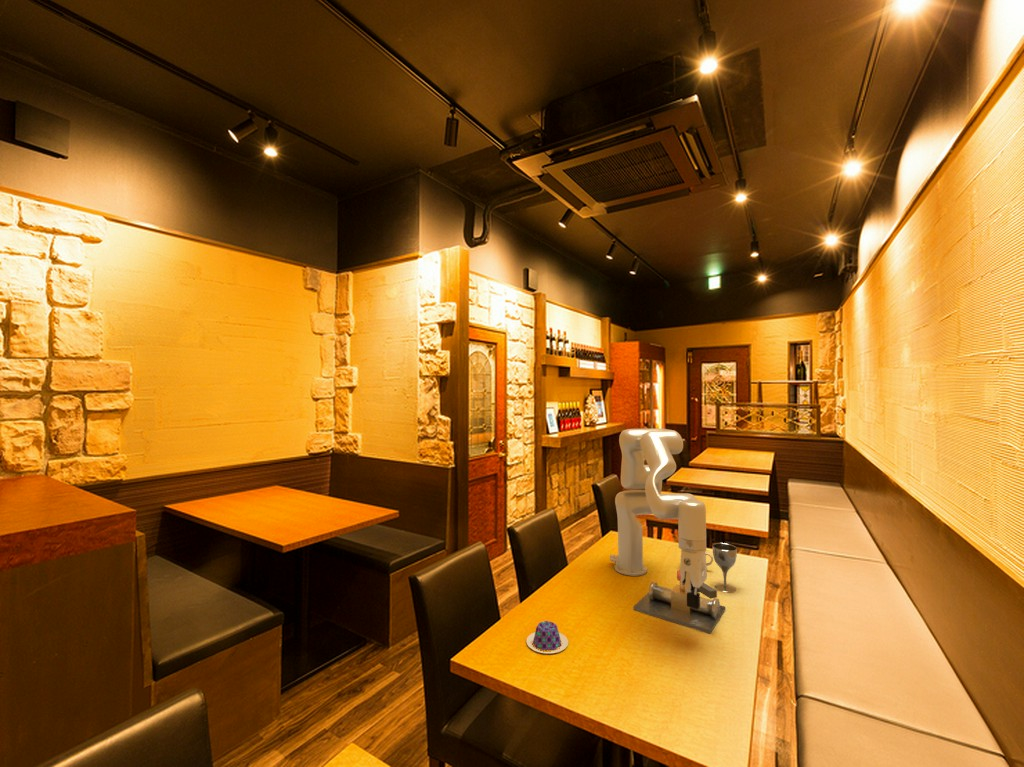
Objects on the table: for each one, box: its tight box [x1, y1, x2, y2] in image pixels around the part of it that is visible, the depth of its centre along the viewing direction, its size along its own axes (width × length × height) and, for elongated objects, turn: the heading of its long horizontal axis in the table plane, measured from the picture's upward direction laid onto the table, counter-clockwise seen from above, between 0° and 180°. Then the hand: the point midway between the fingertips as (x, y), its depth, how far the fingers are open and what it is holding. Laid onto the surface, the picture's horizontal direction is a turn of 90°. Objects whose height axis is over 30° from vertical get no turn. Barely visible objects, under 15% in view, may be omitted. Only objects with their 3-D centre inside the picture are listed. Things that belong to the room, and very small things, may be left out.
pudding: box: [526, 620, 569, 654], centre depth 130 cm, size 12×12×5 cm
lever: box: [676, 569, 718, 600], centre depth 142 cm, size 16×4×2 cm, turn 17°
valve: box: [632, 581, 726, 634], centre depth 148 cm, size 24×18×10 cm
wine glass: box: [712, 542, 738, 593], centre depth 163 cm, size 8×8×15 cm
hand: (693, 606), depth 130 cm, fingers closed
